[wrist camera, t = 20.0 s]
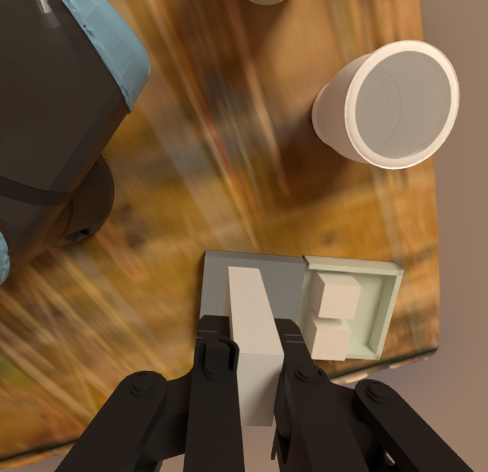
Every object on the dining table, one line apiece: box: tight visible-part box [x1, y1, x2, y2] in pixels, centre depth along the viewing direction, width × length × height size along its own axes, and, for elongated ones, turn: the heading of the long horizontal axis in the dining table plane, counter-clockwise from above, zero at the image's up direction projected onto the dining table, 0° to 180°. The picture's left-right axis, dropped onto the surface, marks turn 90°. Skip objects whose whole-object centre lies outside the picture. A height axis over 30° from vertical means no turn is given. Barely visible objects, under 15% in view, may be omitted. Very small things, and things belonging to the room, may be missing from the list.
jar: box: [312, 40, 459, 169], centre depth 37 cm, size 11×10×15 cm
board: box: [200, 250, 306, 323], centre depth 50 cm, size 14×14×2 cm
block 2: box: [303, 310, 352, 361], centre depth 50 cm, size 5×5×5 cm
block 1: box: [309, 269, 361, 320], centre depth 48 cm, size 5×5×5 cm
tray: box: [296, 255, 404, 360], centre depth 51 cm, size 14×15×3 cm
